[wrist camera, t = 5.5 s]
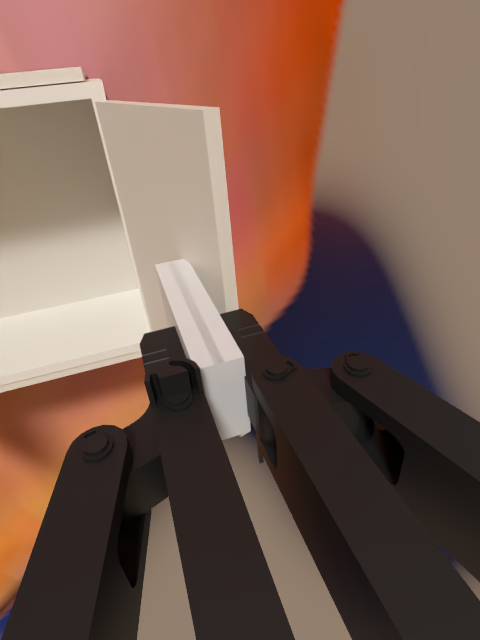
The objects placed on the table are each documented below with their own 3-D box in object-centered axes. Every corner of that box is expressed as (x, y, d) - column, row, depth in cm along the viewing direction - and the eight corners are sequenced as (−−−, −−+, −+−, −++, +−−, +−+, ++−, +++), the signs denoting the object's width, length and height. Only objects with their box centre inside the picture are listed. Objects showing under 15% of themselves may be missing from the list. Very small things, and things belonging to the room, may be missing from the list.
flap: (240, 437, 17) (250, 431, 17) (202, 109, 10) (218, 107, 10) (155, 343, 23) (162, 340, 23) (95, 101, 16) (106, 100, 16)
